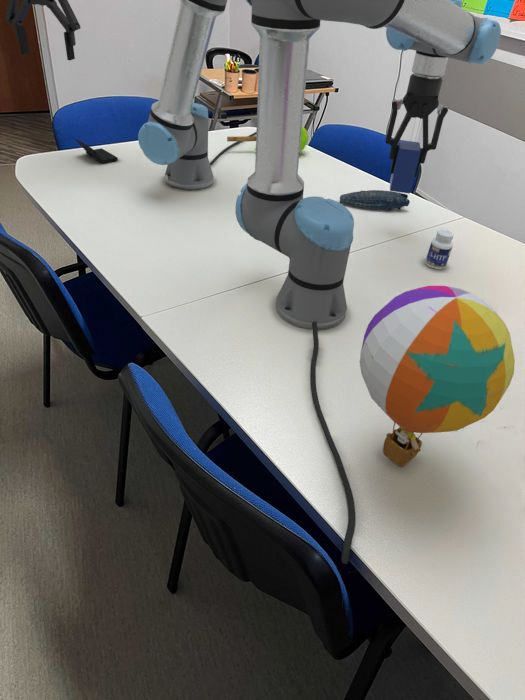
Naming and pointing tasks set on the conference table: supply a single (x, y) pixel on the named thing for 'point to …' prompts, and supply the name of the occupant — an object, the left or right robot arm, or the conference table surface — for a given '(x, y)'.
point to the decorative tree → (253, 138)
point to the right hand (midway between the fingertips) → (403, 173)
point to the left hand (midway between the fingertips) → (48, 56)
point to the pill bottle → (440, 249)
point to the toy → (435, 364)
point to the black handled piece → (98, 153)
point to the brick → (405, 166)
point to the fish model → (376, 199)
